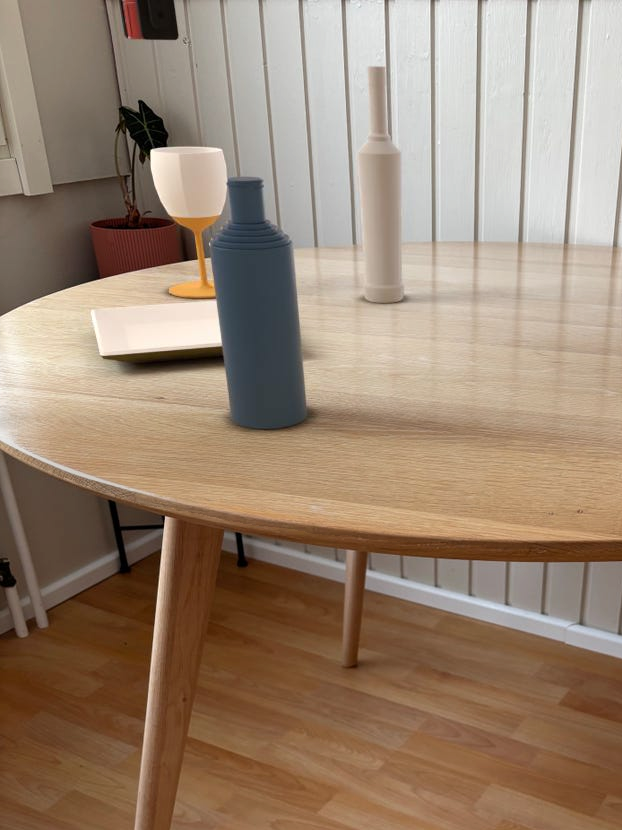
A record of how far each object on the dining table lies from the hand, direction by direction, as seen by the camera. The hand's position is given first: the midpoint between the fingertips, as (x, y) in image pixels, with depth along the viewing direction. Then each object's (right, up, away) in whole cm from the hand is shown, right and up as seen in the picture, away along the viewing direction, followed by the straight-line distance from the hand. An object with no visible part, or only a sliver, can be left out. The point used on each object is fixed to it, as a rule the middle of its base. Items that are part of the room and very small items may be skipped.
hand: (151, 36), depth 84 cm
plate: (-1, -22, +16) cm, 28 cm away
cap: (0, 0, 0) cm, 0 cm away
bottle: (+17, -11, +35) cm, 40 cm away
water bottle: (+11, -35, -3) cm, 37 cm away
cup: (-6, -9, +37) cm, 38 cm away
